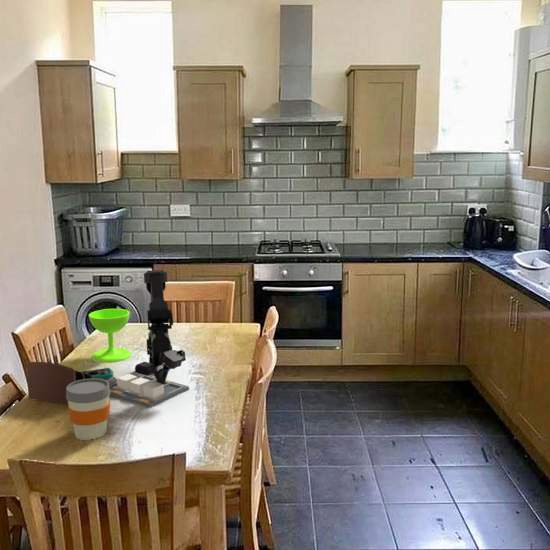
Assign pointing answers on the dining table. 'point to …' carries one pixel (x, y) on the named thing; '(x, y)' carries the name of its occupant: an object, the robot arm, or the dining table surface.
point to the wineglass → (110, 333)
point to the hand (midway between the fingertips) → (162, 386)
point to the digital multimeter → (100, 373)
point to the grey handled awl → (112, 381)
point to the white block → (125, 381)
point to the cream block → (138, 385)
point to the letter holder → (51, 381)
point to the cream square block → (153, 390)
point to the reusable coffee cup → (88, 407)
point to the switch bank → (169, 391)
